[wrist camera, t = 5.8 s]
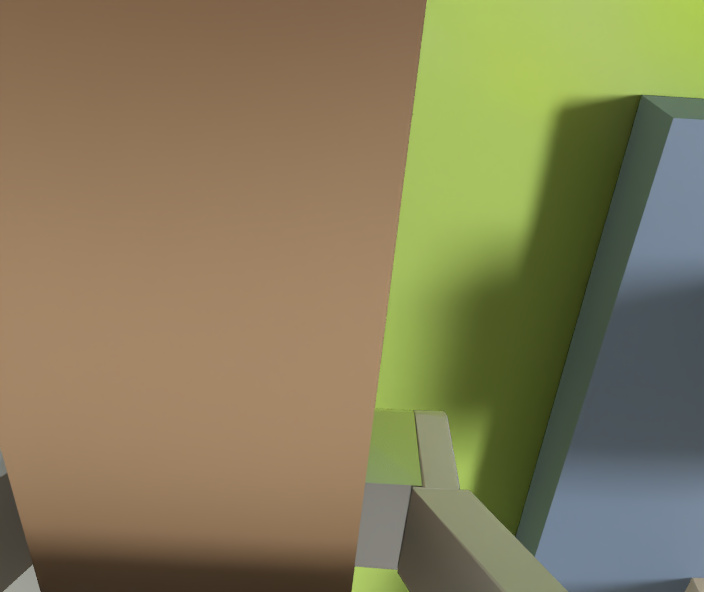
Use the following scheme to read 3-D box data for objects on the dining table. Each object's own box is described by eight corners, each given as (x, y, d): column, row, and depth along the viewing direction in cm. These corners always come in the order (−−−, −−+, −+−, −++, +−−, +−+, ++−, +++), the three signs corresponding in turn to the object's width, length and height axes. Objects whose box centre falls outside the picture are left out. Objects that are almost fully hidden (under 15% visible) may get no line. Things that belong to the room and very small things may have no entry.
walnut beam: (126, -183, 9) (-200, -262, 4) (396, -158, 9) (451, -199, 4) (190, 580, 17) (120, 876, 12) (326, 587, 17) (314, 883, 12)
